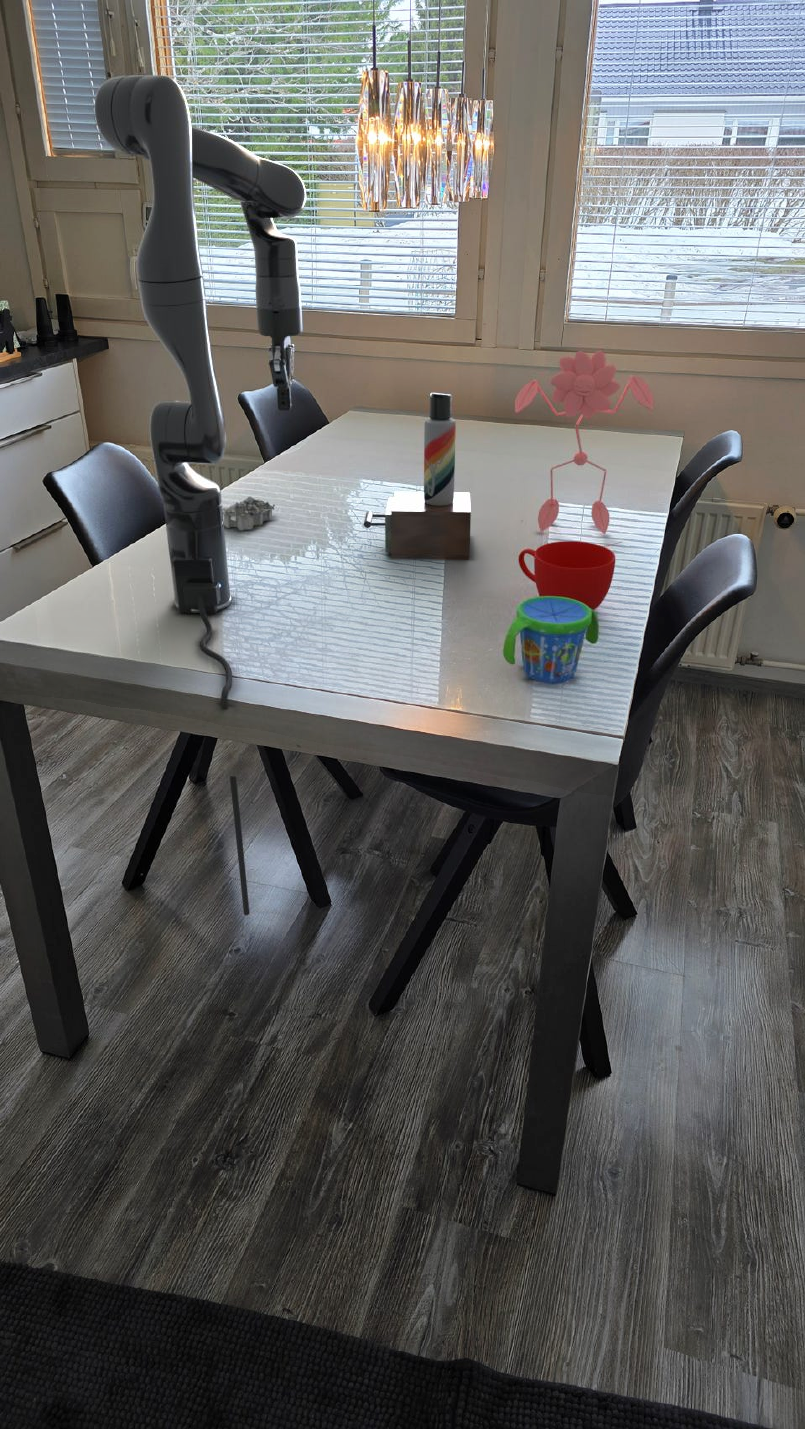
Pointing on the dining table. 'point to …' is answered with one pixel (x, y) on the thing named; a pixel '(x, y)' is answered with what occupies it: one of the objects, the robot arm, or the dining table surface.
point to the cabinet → (430, 527)
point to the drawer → (382, 523)
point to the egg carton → (247, 514)
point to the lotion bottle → (439, 452)
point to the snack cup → (551, 636)
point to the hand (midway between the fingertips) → (284, 409)
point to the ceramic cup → (571, 571)
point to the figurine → (583, 413)
